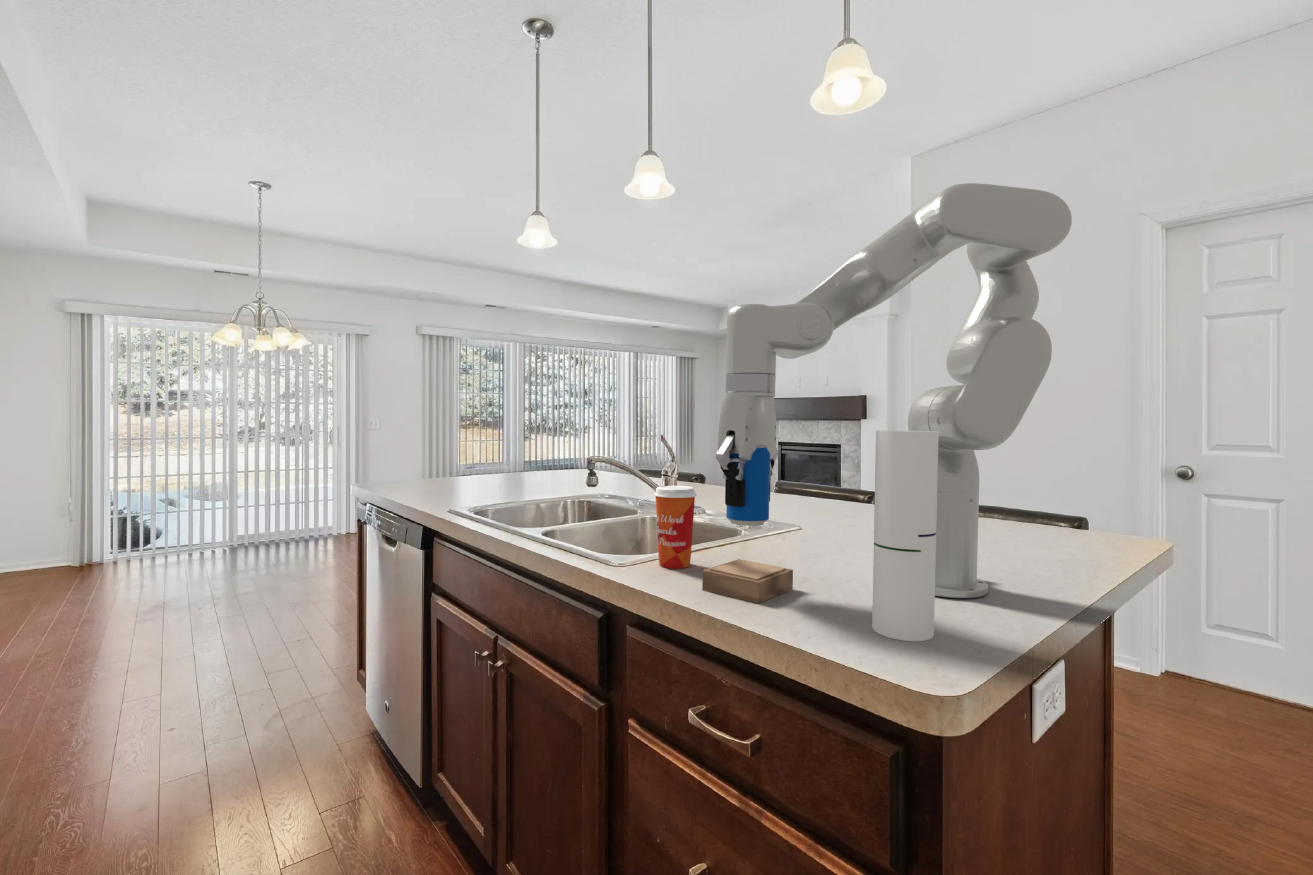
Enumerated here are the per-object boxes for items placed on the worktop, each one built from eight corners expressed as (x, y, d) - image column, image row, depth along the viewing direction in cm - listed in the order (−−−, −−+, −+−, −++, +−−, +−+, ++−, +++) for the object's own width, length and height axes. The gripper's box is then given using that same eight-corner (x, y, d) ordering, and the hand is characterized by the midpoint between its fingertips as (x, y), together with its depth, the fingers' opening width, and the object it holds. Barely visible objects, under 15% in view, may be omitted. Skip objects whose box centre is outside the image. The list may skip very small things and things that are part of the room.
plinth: (738, 577, 99) (738, 557, 99) (792, 588, 92) (793, 568, 92) (702, 589, 91) (702, 568, 91) (758, 603, 85) (758, 580, 85)
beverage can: (768, 527, 88) (770, 446, 87) (724, 525, 89) (726, 445, 88) (769, 520, 94) (770, 445, 94) (728, 518, 95) (729, 444, 95)
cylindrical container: (947, 638, 72) (952, 431, 71) (897, 643, 70) (902, 431, 69) (906, 618, 79) (910, 430, 78) (860, 623, 77) (864, 430, 76)
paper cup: (644, 565, 106) (645, 487, 106) (671, 557, 112) (672, 484, 112) (678, 572, 101) (679, 491, 101) (705, 564, 107) (705, 487, 107)
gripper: (759, 390, 100) (757, 496, 100) (696, 384, 87) (694, 506, 87) (799, 389, 95) (797, 501, 95) (739, 383, 82) (736, 512, 82)
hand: (747, 502), depth 91 cm, fingers closed on beverage can, 6 cm apart
